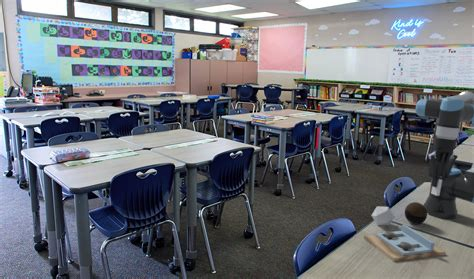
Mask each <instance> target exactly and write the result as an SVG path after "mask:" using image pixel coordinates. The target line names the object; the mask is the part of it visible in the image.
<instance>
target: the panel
mask: <svg viewBox="0 0 474 279" xmlns="http://www.w3.org/2000/svg"><path fill="white" fill-rule="evenodd" d="M400 229H401V230H398V231H396V230H395V231H392V232H393V233H395V234H396V236H403V237H397V239H393V240H388V239H387V238H385V237H384V236H385V232H377V233H375V235H376V236H377V237H378V238H380V239H381V240H383V241H384V242H385V243H387V244H388V245H389V246H391V247H392V248H394V249H395V250H396V251H398V252H399V253H400V254H402V255H410V254H418V253H426V252H433V249H434V245H435V242H434V241H433V240H431V239H429V237H427V236H424V235H423V234H421V233H419V232H418V231H416V230H414V229H413V228H411V227H410V226H408V225H407V224H401V228H400ZM401 242H407V243H410V244H411V245H412V247H416V246H419V247H420V248H413V250H411V251H404V250H402V249H401V248H400V247H401V246H400V243H401Z"/></svg>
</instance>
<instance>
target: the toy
mask: <svg viewBox="0 0 474 279" xmlns="http://www.w3.org/2000/svg"><path fill="white" fill-rule="evenodd" d="M423 205H424V204H422V203H420V202H418V201H415V202H413V201H412V202H410V203H409V204H407V205H406V206H405V210H404V216H405V219H406V220H407V221H408V222H409V223H410V224H413V225H420V224H423V223H425V221H426V219H427V218H428V213H427V210H426V208H425V207H424V206H423Z"/></svg>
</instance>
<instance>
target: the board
mask: <svg viewBox="0 0 474 279" xmlns="http://www.w3.org/2000/svg"><path fill="white" fill-rule="evenodd" d="M393 232H394V231H385V232H384V233H385V236H384V237H385V238H387V239H388V240H393V239H397V237H403V236H396V234H395V233H393ZM363 239H364V240H365V241H366V242H368V243H369V244H370V245H372V246H373V247H374V248H375V249H377V250H378V251H379V252H381V253H382V254H383V255H385V256H386V257H388V258H389V259H390V260H391V261H392V262H398V261H406V260H407V261H408V260H414V259H421V258H428V257H436V256H444V255H446V251H445V250H443V249H442V248H440V247H438V245H435V244H434V249H433V252H426V253H418V254H410V255H402V254H400V253H399V252H398V251H396V250H395V249H394V248H392V247H391V246H389V245H388V244H387V243H385V242H384V241H383V240H381V239H380V238H378V237H377V236H376V234H370V235H368V234H367V235H364V236H363ZM400 246H401V247H400V248H401V249H402V250H404V251H411V250H413V248H420V247H419V246H416V247H412V245H411V244H410V243H407V242H401V243H400Z"/></svg>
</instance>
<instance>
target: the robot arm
mask: <svg viewBox="0 0 474 279" xmlns="http://www.w3.org/2000/svg"><path fill="white" fill-rule="evenodd" d="M415 113H416V115H417V116H419V117H423V118H432V119H438V120H437V126H436V130H435V137H434V141H433V146H434V149H433V150H432V153H427V155H426V157H427V159H428V176H429V177H430V178H431V181H430V185H429V186H430V188H429V195H428V197H427V198H426V200H425V203H423V204H422V205H423V206H424V207H425V208H426V210H427V215H430V216H433V217H436V218H439V219H440V218H441V219H445V220H447V219H448V220H449V219H452V220H453V219H456V218H457V217H458V210H457V203H456V202H457V201H456V200H457V199H460V200H462V201H466V202H468V203H469V202H470V203H472V204H474V161H473V162H472V165H471V168H470V169H468V170H466V171H465V173H462V170H461V169H458V168H455V167H454V164H455V161H456V160H457V158H458V157H459V156H458V155H457V154H455V153H454V149H456V148H457V147H456V146H457V138H458V137H459V130H460V126H461V123H468V122H472V121H474V89H471V90H468V91H462V92H461V93H459V94H457V95H452V96H447V97H442V98H435V99H428V98H427V99H426V98H425V99H424V98H422V99H419V100H418V101H417V103H416V104H415Z"/></svg>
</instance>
